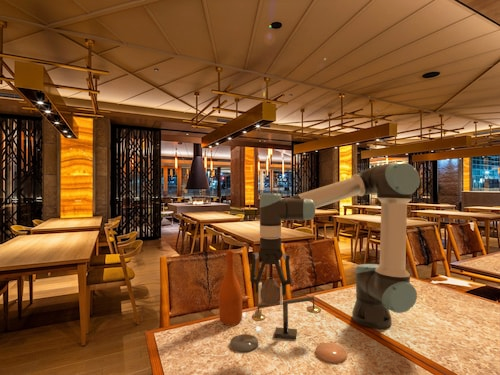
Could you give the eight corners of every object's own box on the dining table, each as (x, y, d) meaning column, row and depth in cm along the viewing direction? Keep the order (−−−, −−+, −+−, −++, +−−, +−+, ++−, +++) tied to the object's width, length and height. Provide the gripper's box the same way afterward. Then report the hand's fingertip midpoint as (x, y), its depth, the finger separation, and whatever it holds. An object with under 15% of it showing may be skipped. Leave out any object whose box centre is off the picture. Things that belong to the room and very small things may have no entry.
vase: (279, 308, 94) (279, 282, 94) (259, 306, 95) (259, 280, 95) (281, 300, 100) (281, 275, 101) (262, 299, 102) (262, 274, 102)
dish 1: (260, 338, 104) (260, 335, 104) (255, 353, 94) (255, 350, 94) (234, 335, 106) (234, 333, 106) (226, 350, 96) (226, 347, 96)
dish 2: (345, 347, 97) (345, 344, 97) (348, 364, 87) (348, 361, 87) (315, 344, 99) (315, 341, 99) (315, 360, 89) (315, 357, 90)
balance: (321, 335, 105) (320, 294, 105) (321, 342, 100) (320, 300, 100) (253, 328, 111) (252, 290, 111) (250, 335, 106) (250, 295, 106)
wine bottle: (245, 317, 121) (244, 248, 122) (237, 327, 112) (236, 253, 112) (225, 314, 125) (224, 247, 125) (215, 324, 115) (214, 251, 116)
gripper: (299, 236, 100) (299, 300, 99) (245, 234, 104) (245, 296, 103) (298, 239, 92) (298, 309, 92) (240, 237, 97) (240, 304, 96)
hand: (270, 302), depth 98 cm, fingers closed on vase, 7 cm apart
